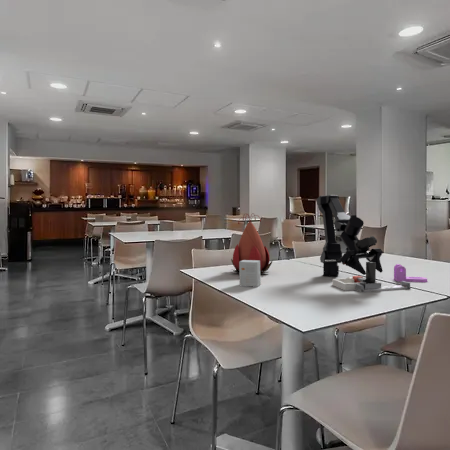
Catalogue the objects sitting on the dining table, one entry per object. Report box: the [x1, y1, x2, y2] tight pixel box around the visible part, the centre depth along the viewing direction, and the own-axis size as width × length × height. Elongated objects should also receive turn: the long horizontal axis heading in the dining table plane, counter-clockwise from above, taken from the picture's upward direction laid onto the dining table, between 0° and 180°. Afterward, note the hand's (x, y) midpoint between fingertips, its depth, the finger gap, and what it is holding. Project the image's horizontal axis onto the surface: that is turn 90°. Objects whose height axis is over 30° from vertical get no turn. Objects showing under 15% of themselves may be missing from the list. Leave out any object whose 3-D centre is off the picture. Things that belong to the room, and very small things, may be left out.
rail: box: [355, 281, 411, 293], centre depth 150 cm, size 22×4×2 cm, turn 102°
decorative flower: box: [230, 213, 274, 274], centre depth 188 cm, size 22×23×30 cm
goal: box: [332, 277, 360, 291], centre depth 155 cm, size 7×10×2 cm
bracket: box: [393, 263, 428, 283], centre depth 166 cm, size 13×6×7 cm, turn 78°
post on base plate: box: [352, 261, 382, 289], centre depth 152 cm, size 7×11×11 cm, turn 12°
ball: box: [344, 276, 355, 283], centre depth 155 cm, size 4×4×4 cm
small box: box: [238, 260, 262, 288], centre depth 160 cm, size 8×6×10 cm
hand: (373, 273), depth 147 cm, fingers open, 9 cm apart
